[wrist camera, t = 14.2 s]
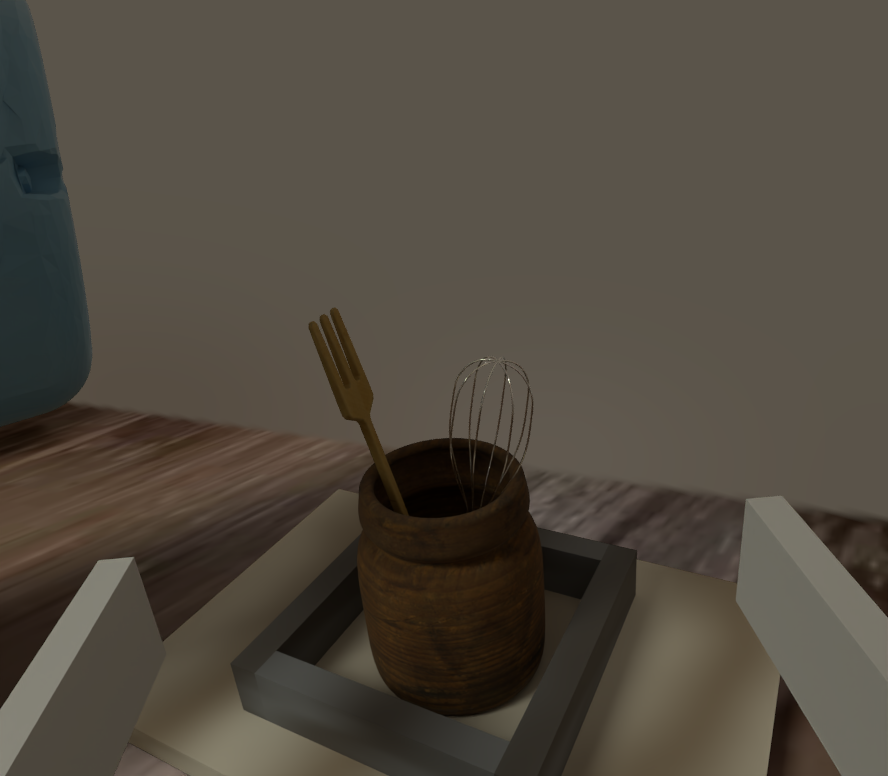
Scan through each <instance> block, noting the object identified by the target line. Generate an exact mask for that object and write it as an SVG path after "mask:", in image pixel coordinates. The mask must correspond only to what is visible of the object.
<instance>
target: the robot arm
mask: <svg viewBox="0 0 888 776" xmlns="http://www.w3.org/2000/svg"><path fill="white" fill-rule="evenodd" d="M62 170H63V166H62V162H61V157H60V152H59V147H58V142H57V137H56V125H55V120H54V114H53V109H52V104H51V99H50V94H49V89H48V84H47V79H46V74H45V70H44V65H43V60H42V56H41V51H40V47H39V43H38V38H37V34H36V30H35V26H34V22H33V19H32V15H31V12H30V9H29V6H28V4H27V3H26V0H0V427H1V426H5V425H8V424H11V423H14V422H18V421H21V420H24V419H28V418H31V417H34V416H38V415H41V414H44V413H47V412H50V411H53V410H55V409H57V408H59V407H61V406H62V405H64V404H66V403H67V402H68V401H69V400H71V399H72V398H73V397H74V396H75V395H76V394H77V393H78V392H79V391H80V389H81V388H82V387H83V385H84V384H85V382H86V380H87V378H88V375H89V372H90V368H91V361H92V344H91V332H90V324H89V315H88V308H87V301H86V294H85V287H84V282H83V275H82V270H81V264H80V258H79V252H78V246H77V240H76V235H75V229H74V224H73V218H72V214H71V208H70V202H69V198H68V193H67V189H66V186H65V184H64V182H63V177H62ZM736 602H737V604H738V605H739V607H740V609H741V610H742V612H743V613H744V615H745V617H746V618H747V620H748V622H749V623H750V625H751V627H752V628H753V630H754V632H755V633H756V635H757V637H758V638H759V640H760V642H761V643H762V645H763V647H764V648H765V650H766V652H767V653H768V655H769V657H770V658H771V660H772V661H773V663H774V665H775V666H776V668H777V670H778V671H779V673H780V675H781V676H782V678H783V680H784V681H785V683H786V685H787V686H788V688H789V690H790V691H791V693H792V695H793V696H794V698H795V700H796V701H797V703H798V705H799V706H800V708H801V709H802V711H803V713H804V714H805V716H806V718H807V719H808V721H809V723H810V724H811V726H812V728H813V729H814V731H815V733H816V734H817V736H818V738H819V739H820V741H821V743H822V744H823V746H824V748H825V749H826V751H827V753H828V754H829V756H830V757H831V759H832V761H833V762H834V764H835V766H836V767H837V769H838V771H839V772H840V774H841V776H888V618H887V616H886V615H885V614H884V613H883V612H882V611H881V609H880V608H879V607H878V606H877V605H876V604H875V602H874V601H873V600H872V599H871V598H870V597H869V596H868V594H867V593H866V592H865V591H864V590H863V589H862V587H861V586H860V585H859V584H858V583H857V582H856V581H855V579H854V578H853V577H852V576H851V575H850V574H849V572H848V571H847V570H846V569H845V568H844V567H843V566H842V564H841V563H840V562H839V561H838V560H837V559H836V557H835V556H834V555H833V554H832V553H831V552H830V550H829V549H828V548H827V547H826V546H825V545H824V544H823V542H822V541H821V540H820V539H819V538H818V537H817V535H816V534H815V533H814V532H813V531H812V530H811V529H810V527H809V526H808V525H807V524H806V523H805V522H804V520H803V519H802V518H801V517H800V516H799V515H798V513H797V512H796V511H795V510H794V509H793V508H792V507H791V505H790V504H789V503H788V502H787V501H786V500H785V498H784V497H783V496H782V495H781V496H771V497H760V498H750V499H746V504H745V513H744V523H743V533H742V543H741V553H740V562H739V572H738V582H737V592H736ZM165 656H166V651H165V648H164V645H163V642H162V639H161V636H160V633H159V630H158V627H157V624H156V621H155V618H154V615H153V612H152V609H151V606H150V603H149V600H148V597H147V594H146V591H145V588H144V585H143V582H142V579H141V576H140V573H139V570H138V567H137V564H136V561H135V558H134V557H128V558H118V559H107V560H98V562H97V563H96V565H95V566H94V568H93V570H92V571H91V573H90V574H89V576H88V577H87V579H86V580H85V582H84V583H83V585H82V586H81V588H80V589H79V591H78V592H77V594H76V595H75V597H74V598H73V600H72V601H71V603H70V604H69V606H68V607H67V609H66V610H65V612H64V614H63V615H62V617H61V618H60V620H59V621H58V623H57V624H56V626H55V627H54V629H53V630H52V632H51V633H50V635H49V636H48V638H47V639H46V641H45V642H44V644H43V645H42V647H41V648H40V650H39V651H38V653H37V655H36V656H35V658H34V659H33V661H32V662H31V664H30V665H29V667H28V668H27V670H26V671H25V673H24V674H23V676H22V677H21V679H20V680H19V682H18V683H17V685H16V686H15V688H14V689H13V691H12V692H11V694H10V695H9V697H8V699H7V700H6V702H5V703H4V705H3V706H2V708H1V709H0V776H114V773H115V771H116V769H117V767H118V764H119V762H120V760H121V757H122V755H123V753H124V750H125V748H126V746H127V744H128V741H129V739H130V737H131V734H132V732H133V730H134V727H135V725H136V723H137V721H138V718H139V716H140V714H141V711H142V709H143V707H144V704H145V702H146V700H147V698H148V695H149V693H150V691H151V688H152V686H153V684H154V681H155V679H156V677H157V675H158V672H159V670H160V668H161V665H162V663H163V661H164V658H165Z"/></svg>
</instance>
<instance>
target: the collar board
mask: <svg viewBox="0 0 888 776" xmlns="http://www.w3.org/2000/svg"><path fill="white" fill-rule="evenodd" d="M358 499H359V494H358V493H354V492H349V491H345V490H341V489H338V490H337V491H336V492H335V493H333V494H332V495H331V496H330V497H329V498H328V499H327V500H325V501H324V502H323V503H322V504H321V505H320V506H318V507H317V508H316V509H315V510H314V511H313V512H312V513H310V514H309V515H308V516H307V517H306V518H305V519H303V520H302V521H301V522H300V523H299V524H298V525H297V526H295V527H294V528H293V529H292V530H291V531H290V532H289V533H287V534H286V535H285V536H284V537H283V538H282V539H280V540H279V541H278V542H277V543H276V544H275V545H274V546H272V547H271V548H270V549H269V550H268V551H267V552H265V553H264V554H263V555H262V556H261V557H260V558H259V559H257V560H256V561H255V562H254V563H253V564H252V565H250V566H249V567H248V568H247V569H246V570H245V571H244V572H242V573H241V574H240V575H239V576H238V577H237V578H236V579H234V580H233V581H232V582H231V583H230V584H229V585H227V586H226V587H225V588H224V589H223V590H222V591H221V592H219V593H218V594H217V595H216V596H215V597H214V598H212V599H211V600H210V601H209V602H208V603H207V604H206V605H204V606H203V607H202V608H201V609H200V610H199V611H198V612H196V613H195V614H194V615H193V616H192V617H191V618H189V619H188V620H187V621H186V622H185V623H184V624H183V625H181V626H180V627H179V628H178V629H177V630H176V631H174V632H173V633H172V634H171V635H170V636H169V637H168V638H166V639H165V640H164V641H163V645H164V648H165V651H166V656H165V658H164V661H163V663H162V665H161V668H160V670H159V672H158V675H157V677H156V679H155V681H154V684H153V686H152V688H151V691H150V693H149V695H148V698H147V700H146V702H145V704H144V707H143V709H142V711H141V714H140V716H139V718H138V721H137V723H136V725H135V727H134V730H133V732H132V734H131V737H130V739H129V741H128V742H129V743H131V744H133V745H134V746H136V747H138V748H140V749H142V750H144V751H146V752H147V753H149V754H151V755H153V756H155V757H157V758H159V759H160V760H162V761H164V762H166V763H168V764H170V765H172V766H173V767H175V768H177V769H179V770H181V771H183V772H185V773H186V774H188V775H190V776H767V769H768V762H769V754H770V747H771V740H772V732H773V725H774V717H775V710H776V702H777V695H778V688H779V680H780V673H779V671H778V670H777V668H776V666H775V665H774V663H773V661H772V660H771V658H770V657H769V655H768V653H767V652H766V650H765V648H764V647H763V645H762V643H761V642H760V640H759V638H758V637H757V635H756V633H755V632H754V630H753V628H752V627H751V625H750V623H749V622H748V620H747V618H746V617H745V615H744V613H743V612H742V610H741V609H740V607H739V605H738V604H737V602H736V592H737V583H734V582H730V581H726V580H722V579H717V578H713V577H709V576H705V575H701V574H696V573H692V572H688V571H684V570H679V569H675V568H671V567H667V566H662V565H658V564H654V563H650V562H646V561H641V560H637V550H633V549H628V548H624V547H620V546H615V545H611V544H607V543H602V542H598V541H594V540H589V539H585V538H581V537H576V536H572V535H568V534H563V533H559V532H555V531H550V530H546V529H542V528H537V530H538V533H539V537H540V542H541V548H542V556H543V572H544V594H545V643H544V650H543V655H542V658H541V662H540V664H539V667H538V669H537V671H536V673H535V675H534V676H533V678H532V679H531V680H530V682H529V683H528V684H527V685H526V686H525V688H524V689H523V690H521V691H520V692H519V693H518V694H517V695H516V696H514V697H513V698H511V699H510V700H508V701H507V702H505V703H503V704H501V705H499V706H497V707H495V708H492V709H490V710H487V711H483V712H479V713H475V714H469V715H456V716H451V715H440V714H437V713H435V712H432V711H430V710H427V709H425V708H422V707H419V706H417V705H414V704H412V703H409V702H407V701H404V700H401V699H400V698H399V697H397V696H396V695H395V694H394V693H393V692H392V691H391V690H390V689H389V688H388V687H387V685H386V684H385V682H384V681H383V679H382V678H381V676H380V674H379V672H378V670H377V667H376V664H375V662H374V658H373V655H372V651H371V647H370V642H369V637H368V632H367V626H366V621H365V615H364V609H363V604H362V598H361V592H360V585H359V578H358V568H357V551H358V543H359V539H360V535H361V532H362V530H363V529H362V527H361V524H360V520H359V514H358Z"/></svg>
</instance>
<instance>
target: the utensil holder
mask: <svg viewBox="0 0 888 776" xmlns="http://www.w3.org/2000/svg"><path fill="white" fill-rule="evenodd" d="M330 315H331V317H332V320H333V323H334V325H335V328H336V331H337V334H338V336H339V339H340V342H341V344H342V347H343V350H344V353H345V355H346V358H347V360H346V358H345V356H344V354H343V351H342V349H341V346H340V344H339V342H338V339H337V337H336V335H335V332H334V330H333V328H332V325H331V323H330V321H329V318H328V316H326V315H325V314H323V315H321V316H320V323H321V326H322V328H323V331H324V334H325V336H326V339H327V342H328V344H329V347H330V350H331V352H332V355H333V358H334V360H335V363H336V366H337V368H338V371H339V373H338V371H337V369H336V367H335V364H334V362H333V360H332V357H331V355H330V353H329V351H328V348H327V346H326V343H325V341H324V339H323V337H322V334H321V332H320V330H319V327H318V325H317V323H315V322H314V321H313V322H310V323H309V330H310V333H311V336H312V338H313V341H314V343H315V346H316V349H317V351H318V354H319V357H320V359H321V362H322V364H323V367H324V370H325V373H326V375H327V378H328V380H329V383H330V386H331V388H332V391H333V394H334V396H335V399H336V402H337V404H338V407H339V409H340V411H341V414H342V416H343V417H344V418H345V419H346V420H352V421H357V422H358V423H359V425H360V427H361V430H362V433H363V435H364V438H365V440H366V442H367V445H368V447H369V450H370V452H371V455H372V457H373V460H374V462H375V463H374V464H373V465H371V467H370V468H369V469H368V470H367V471H366V473H365V474H364V476H363V478H362V480H361V482H360V487H359V499H358V514H359V520H360V524H361V527H362V529H363V530H362V532H361V535H360V539H359V543H358V551H357V568H358V578H359V585H360V592H361V598H362V604H363V609H364V615H365V621H366V626H367V632H368V637H369V642H370V647H371V651H372V655H373V658H374V662H375V664H376V667H377V670H378V672H379V674H380V676H381V678H382V679H383V681H384V682H385V684H386V685H387V687H388V688H389V689H390V690H391V691H392V692H393V693H394V694H395V695H396V696H397V697H399V698H400V699H401V700H404V701H407V702H409V703H412V704H414V705H417V706H419V707H422V708H425V709H427V710H430V711H432V712H435V713H437V714H440V715H451V716H456V715H469V714H475V713H479V712H483V711H487V710H490V709H492V708H495V707H497V706H499V705H501V704H503V703H505V702H507V701H508V700H510V699H511V698H513V697H514V696H516V695H517V694H518V693H519V692H520V691H521V690H523V689H524V688H525V686H526V685H527V684H528V683H529V682H530V680H531V679H532V678H533V676H534V675H535V673H536V671H537V669H538V667H539V664H540V662H541V658H542V655H543V650H544V643H545V594H544V572H543V556H542V548H541V542H540V537H539V533H538V530H537V526H536V524H535V522H534V520H533V518H532V516H531V514H530V513H529V512H528V510H529V504H530V498H529V490H528V486H527V482H526V479H525V475H524V472H523V469H522V467H521V464H522V462H523V459H524V456H525V454H526V450H527V447H528V442H529V437H530V431H531V423H532V415H533V395H532V391H531V388H530V386H529V380H528V377H527V374H526V372H525V371H524V369H523V368H522V367H521V366H520V365H519V364H517V363H515V362H513V361H509V360H505V358H504V357H500V358H499V359H498V360H497V359H496V358H494V357H493V356H486V357H484V358H483V359H479V360H476V361H473V362H471V363H470V364H468V365H467V366H465V367H464V368H463V370H462V371H461V372H460V373H459V375H458V377H457V379H456V381H455V385H454V390H453V396H452V403H451V411H450V420H449V438H443V439H433V440H427V441H422V442H417V443H414V444H410V445H407V446H404V447H401V448H399V449H396V450H394V451H392V452H390V453H388V454H386V455H385V454H384V451H383V449H382V446H381V444H380V441H379V439H378V436H377V434H376V431H375V429H374V427H373V424H372V421H371V418H370V411H371V407H372V402H373V392H372V390H371V387H370V385H369V382H368V380H367V377H366V375H365V373H364V370H363V368H362V366H361V363H360V361H359V358H358V356H357V354H356V351H355V349H354V347H353V344H352V342H351V339H350V337H349V335H348V333H347V330H346V328H345V325H344V323H343V321H342V318H341V316H340V313H339V311H338V309H336V308H332V309H331V310H330ZM488 357H490V358H493V359H485V358H488ZM502 358H503V359H504V360H500V359H502ZM494 359H495V360H494ZM485 360H488V361H489V360H490V361H491V362H488V363H485V364H483V365H481V366H480V364H481V363H482V361H485ZM347 361H348V363H347ZM478 361H480V363H479V365H478V367H477V368H476V369H475V370H474V371H472V372H471V373H470V375H472V374H473V373H474V372H475V371H476V373H475V379H474V385H473V392H472V399H471V407H470V417H469V439H463V438H452V429H453V422H454V416H455V408H456V403H457V398H458V395H459V393H460V390H461V388H462V387H463V385H464V383H465V382H466V380H467V379H468V378H469V377H470V375H468V377H467V378H466V379H465V380H464V382H463V384H462V385H461V387H460V389H459V391H458V393H457V396H456V400H455V405H454V411H453V418H452V425H451V414H452V406H453V400H454V393H455V388H456V384H457V381H458V378H459V376H460V375H461V373H462V372H463V371H464V370H465V368H467V367H468V366H469V365H471V364H473V363H475V362H478ZM495 362H496V363H495ZM506 362H511V363H514V364H516V365H517V366H519V367H520V368H521V369H522V370H523V372H524V374H525V376H526V379H527V380H526V379H525V377H524V376H523V375H522V374H521V372H519V371H518V370H517V369H516V368H515V367H513V366H511V365H510V364H507V363H506ZM490 363H495V365H494V366H493V368H492V370H491V372H490V375H489V377H488V380H487V383H486V386H485V390H484V394H483V397H482V401H481V406H480V412H479V418H478V425H477V432H476V439H475V440H472V439H470V425H471V411H472V403H473V395H474V389H475V382H476V376H477V371H478V369H479V368H481V367H483V366H485V365H487V364H490ZM497 363H499V364H500V365H501V367H502V368H503V370H504V371H505V378H504V386H503V394H502V401H501V409H500V415H499V421H498V427H497V432H496V437H495V442H494V445H493V444H490V443H487V442H483V441H478V440H477V437H478V430H479V423H480V416H481V410H482V405H483V400H484V396H485V392H486V389H487V386H488V382H489V380H490V377H491V374H492V372H493V370H494V368H495V366H496V364H497ZM501 363H503V364H505V368H504V367H503V365H502V364H501ZM348 364H349V365H348ZM506 365H508V366H510V367H511V368H513V369H515V370H516V371H517V372H518V373H519V374H520V375H521V376H522V377H523V379H524V380H525V382H526V384H527V385H528V394H527V403H526V411H525V418H524V424H523V429H522V433H521V437H520V440H519V443H518V446H517V448H516V451H515V453H514V455H511V454H510V453H509V446H510V440H511V432H512V423H513V414H514V401H513V392H512V387H511V383H510V379H509V377H508V374H507V366H506ZM349 366H350V368H349ZM350 369H351V370H350ZM339 374H340V376H341V378H340V376H339ZM506 376H507V379H508V382H509V386H510V391H511V398H512V418H511V426H510V435H509V442H508V449H507V451H505V450H504V449H502V448H500V447H498V446H496V445H495V444H496V440H497V435H498V430H499V424H500V418H501V411H502V405H503V398H504V390H505V382H506ZM341 379H342V380H341ZM342 382H343V383H342ZM529 391H530V394H531V399H532V407H531V418H530V426H529V434H528V439H527V444H526V448H525V452H524V455H523V457H522V460H521V462H520V463H519V462H518V460H517V459H516V458H515V454H516V452H517V450H518V447H519V445H520V442H521V439H522V435H523V431H524V427H525V421H526V415H527V407H528V400H529Z"/></svg>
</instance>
